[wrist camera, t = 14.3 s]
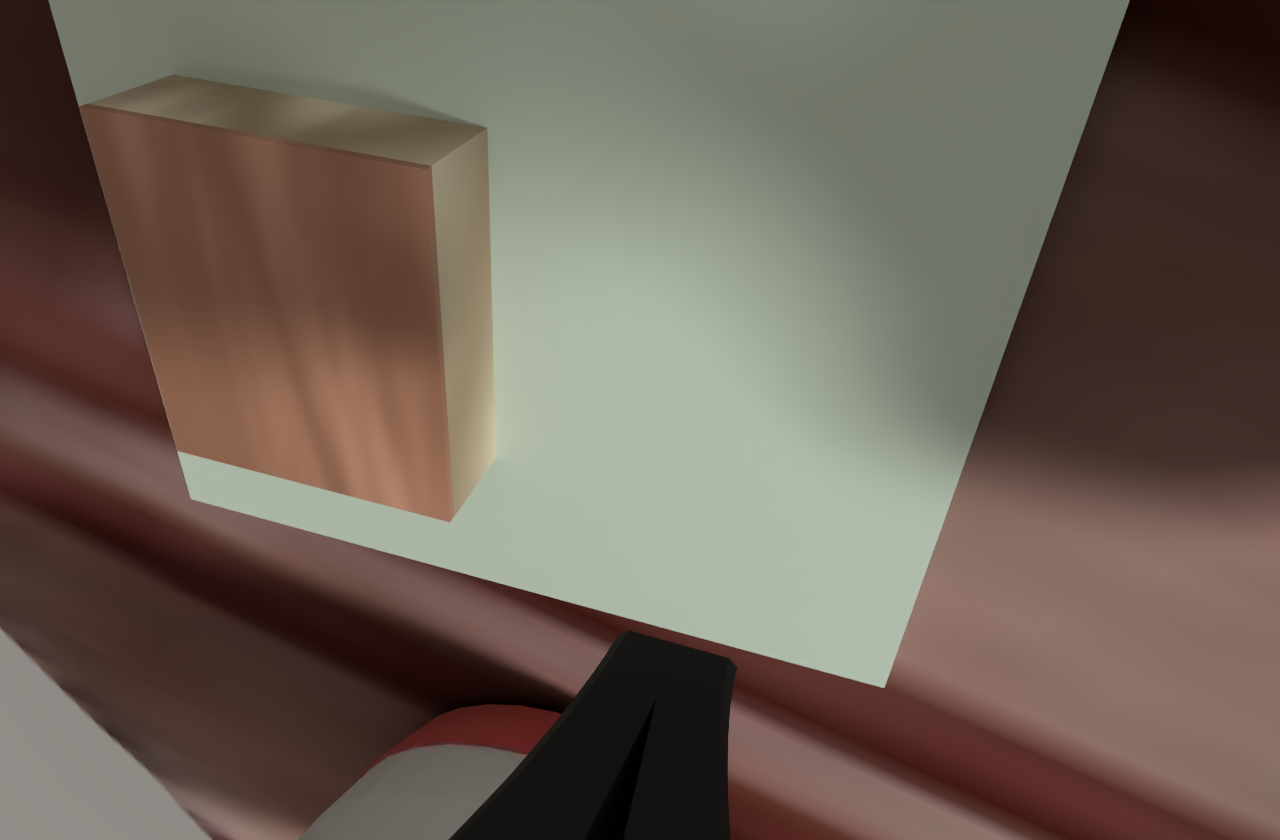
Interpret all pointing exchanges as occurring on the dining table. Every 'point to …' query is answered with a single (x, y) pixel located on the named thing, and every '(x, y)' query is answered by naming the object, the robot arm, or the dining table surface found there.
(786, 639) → the mat
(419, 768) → the citrus juicer
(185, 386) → the tile
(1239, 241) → the dining table surface
